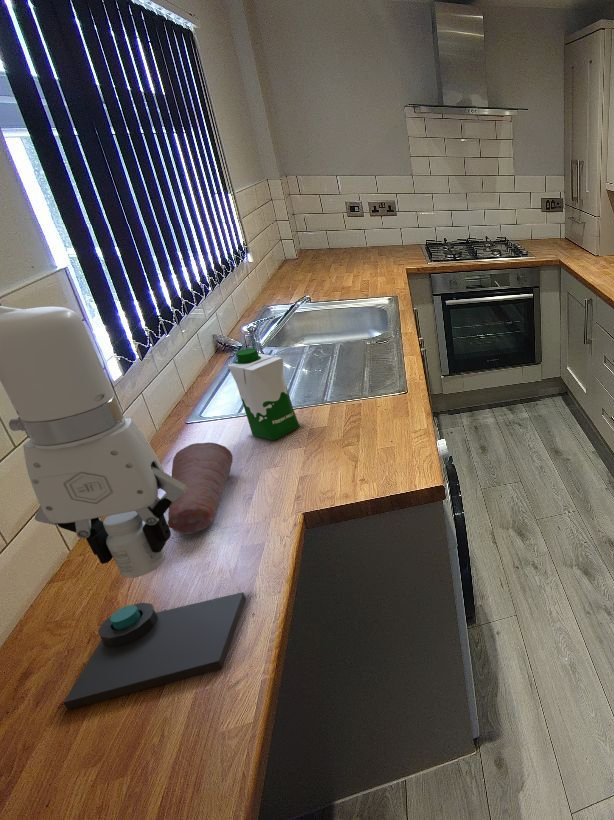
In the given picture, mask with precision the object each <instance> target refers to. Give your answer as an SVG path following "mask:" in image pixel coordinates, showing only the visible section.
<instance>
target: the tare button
mask: <svg viewBox="0 0 614 820" xmlns="http://www.w3.org/2000/svg"><path fill="white" fill-rule="evenodd" d="M111 615H112V616H111ZM111 615H110V616H111V617H110V616H109V617H110V621H111V623H112V625H113V627H114V629H116V630H122V629H126V628H128V627H130V626H131V625H133V624H135V623H136V622H137V621H138V620H139V619H140V617H141V615H140V613H139V611H138V609H137V607H136V606H134V604H130V605H126V606H123V607H121V608H119V609H116V611H115V612H113V614H111Z"/></svg>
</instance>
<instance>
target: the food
mask: <svg viewBox="0 0 614 820" xmlns="http://www.w3.org/2000/svg"><path fill="white" fill-rule="evenodd" d="M233 457H234V456H233V454H232V451H231V450H230V449H229V448H228V447H226V446H224V445H222V444H220V443H217V442H196V443H191V444H189V445H187V446H185V447H183V448H181V449H180V450H178V451H177V452H176V453H175V455H174V457H173V459H172V464H171V465H172V467H171V477H173V478H175V479H177V480H178V481H180V482H182V483H184V484H185V485H187V490H186V491H185V493H184V494H183V495H182V496H181V497H180V498H179V499H178V500H177V501H175V502H174V503H173V504H172V505H170V507H169V508H168V513H167V524H168V526H169V529H171V530H173V532H176V533H178V534H182V535H192V534H193V535H194V534H197V533H199V532H201V531H203V530H205V529H206V528H208V527H210V526H212V525H213V523H214V519H215V516H216V515H217V514H216V512H217V510H218V508H219V505H220V501H221V499H222V495H223V494H224V493H223V492H224V490H225V487H226V485H227V482H228V480H229V479H228V478H229V475H230V472H231V468H232V465H233V461H234V460H233V459H234V458H233Z"/></svg>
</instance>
